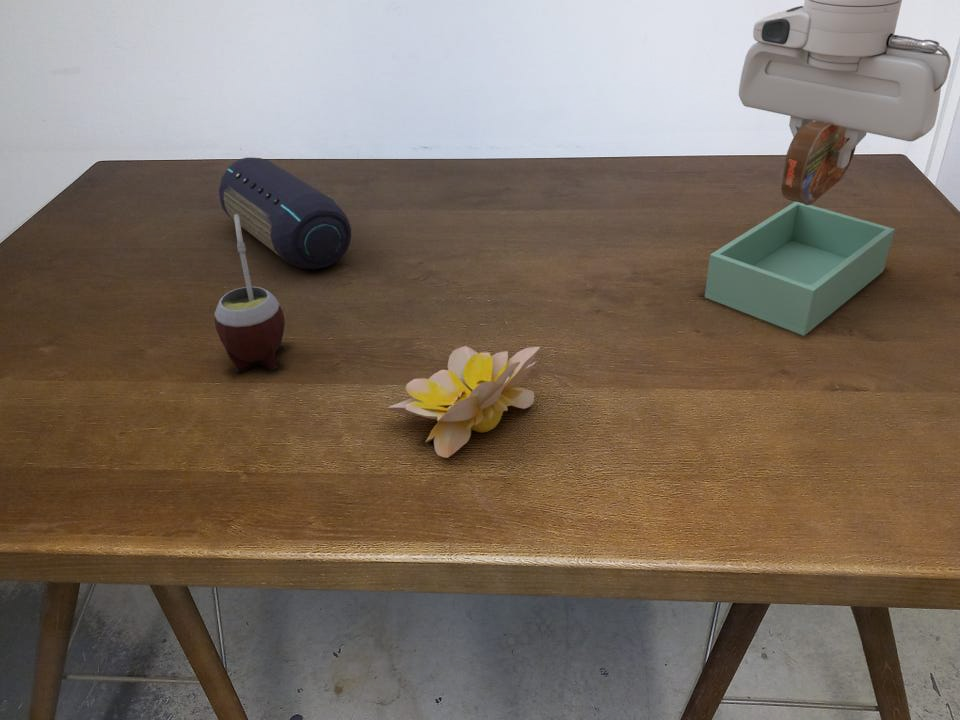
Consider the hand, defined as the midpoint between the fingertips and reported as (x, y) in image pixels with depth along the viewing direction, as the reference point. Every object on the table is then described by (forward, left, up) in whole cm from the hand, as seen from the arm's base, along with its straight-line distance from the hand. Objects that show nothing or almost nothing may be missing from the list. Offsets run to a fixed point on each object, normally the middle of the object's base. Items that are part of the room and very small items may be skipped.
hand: (820, 161), depth 89 cm
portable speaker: (+57, +35, -16) cm, 69 cm away
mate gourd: (+35, +53, -16) cm, 65 cm away
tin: (0, 0, -4) cm, 4 cm away
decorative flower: (+10, +44, -16) cm, 48 cm away
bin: (0, 0, -15) cm, 16 cm away
